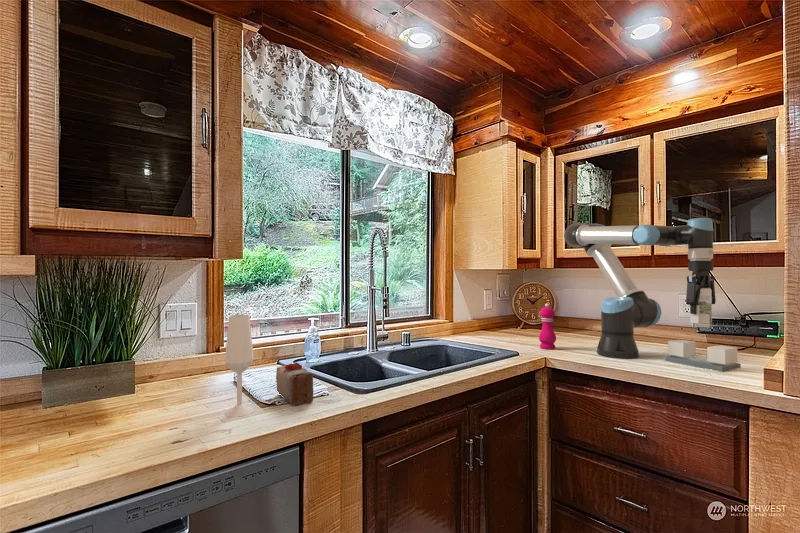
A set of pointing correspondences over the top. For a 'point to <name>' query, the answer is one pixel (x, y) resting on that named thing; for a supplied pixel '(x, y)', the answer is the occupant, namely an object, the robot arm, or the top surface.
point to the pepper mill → (547, 329)
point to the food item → (295, 384)
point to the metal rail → (702, 359)
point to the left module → (682, 348)
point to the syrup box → (705, 309)
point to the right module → (722, 354)
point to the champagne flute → (239, 357)
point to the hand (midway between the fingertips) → (701, 322)
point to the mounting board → (702, 364)
